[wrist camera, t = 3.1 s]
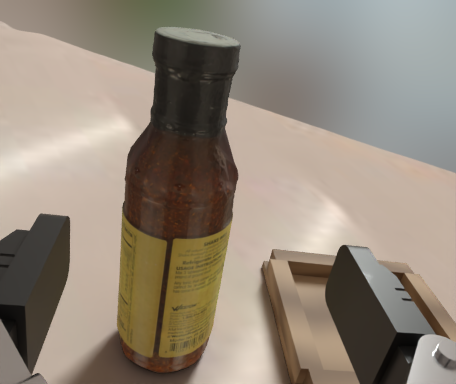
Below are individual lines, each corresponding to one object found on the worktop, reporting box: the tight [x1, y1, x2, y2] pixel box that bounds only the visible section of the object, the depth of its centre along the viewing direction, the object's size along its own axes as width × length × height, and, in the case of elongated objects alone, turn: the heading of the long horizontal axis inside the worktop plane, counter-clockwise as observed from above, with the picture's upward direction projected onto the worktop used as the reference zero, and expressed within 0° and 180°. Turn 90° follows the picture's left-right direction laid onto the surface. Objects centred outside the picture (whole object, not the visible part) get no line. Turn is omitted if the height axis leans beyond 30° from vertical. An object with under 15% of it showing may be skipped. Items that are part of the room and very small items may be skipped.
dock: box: [262, 249, 456, 384], centre depth 33 cm, size 14×14×2 cm
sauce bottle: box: [117, 27, 240, 373], centre depth 24 cm, size 6×6×20 cm
